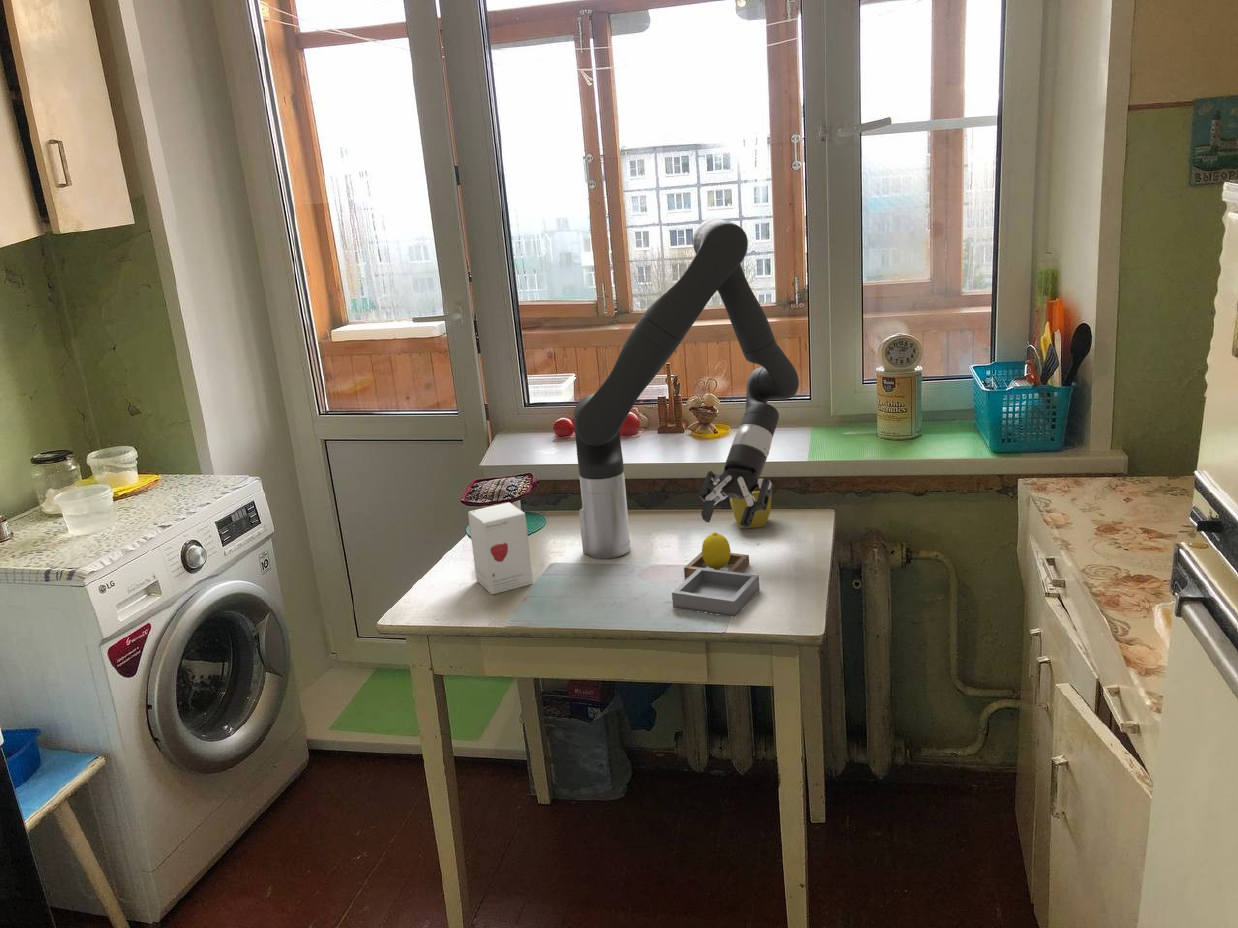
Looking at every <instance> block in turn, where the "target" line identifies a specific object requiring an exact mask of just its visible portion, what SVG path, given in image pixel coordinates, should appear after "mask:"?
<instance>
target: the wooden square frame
mask: <svg viewBox="0 0 1238 928" xmlns="http://www.w3.org/2000/svg"><path fill="white" fill-rule="evenodd" d="M704 565H706V564H705V562H704V560H703V557H702V551H701V552H700V553H699V554H698V555H697V556H695V557H694V558H693V559H692V560H691V561H690V562H688V564H687V565H685V566H684V567H683V574H684V578H686V579H687V578H688V577H689V576H690V575H692V574H693V573H694V572H695V571H696V570H697V569H698V568H703V566H704ZM727 565H731V567H729V569H728V570H727V571H731V572H739V573H743V572H744V571H745V569H747V567H749V565H750V556H749V554H743V553H735V552H731V554H730V559H729V562H728V563H727ZM707 569H709V567H707ZM715 570H716V569H715ZM723 571H725V570H723Z"/></svg>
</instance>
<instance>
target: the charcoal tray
mask: <svg viewBox="0 0 1238 928" xmlns="http://www.w3.org/2000/svg"><path fill="white" fill-rule="evenodd" d="M707 568H708V567H707ZM707 568H706V567H701V568H698V569H697V570H696V571H695V572H694V573H693V574H692V575H690V576H689V577H688V578H686V579H685V580H684V581H683V582H681V584H679V585H678V587H676V588H675V589H674V590H673V591H672V592H671V597H672V608H673V609H677V610H678V609H679V610H684V611H690V610H692V611H691V612H697V611H699V612H698V613H704V612H707V613H706V614H710V613H712V615H717V614H718V615H717V616H724V617H732V618H736V617H737V616H738V615H739V614H740V612H742V611H743V609H744V608H745V607H746V606H747V605H748V604H749V603H750V601H751V600H752V599H753V598H754V597H755V596H756V595H757V593H758V592H760V575H759V574H753V573H745V572H741V573H739V572H731V571H728V570H724V571H723V570H722V569H720V570H715V569H712V568H708V569H707Z"/></svg>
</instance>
